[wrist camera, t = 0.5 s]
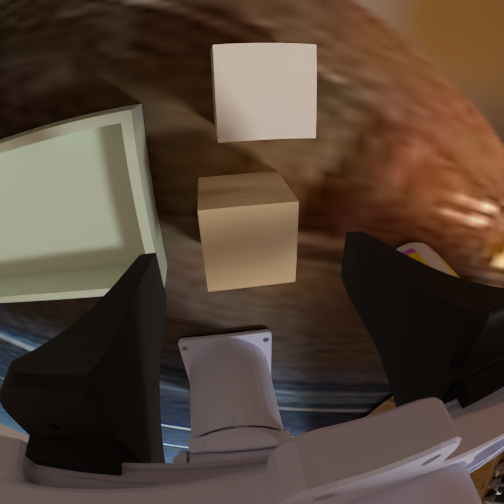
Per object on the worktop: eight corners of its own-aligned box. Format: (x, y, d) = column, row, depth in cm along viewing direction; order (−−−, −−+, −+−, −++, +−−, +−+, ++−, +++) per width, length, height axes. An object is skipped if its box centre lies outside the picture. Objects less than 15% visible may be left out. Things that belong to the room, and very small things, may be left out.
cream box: (289, 120, 18) (315, 137, 14) (214, 124, 18) (218, 142, 14) (288, 49, 16) (316, 44, 12) (210, 51, 15) (212, 44, 11)
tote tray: (167, 264, 22) (164, 290, 20) (-13, 282, 21) (-27, 304, 18) (141, 103, 16) (130, 109, 14) (-56, 162, 15) (-79, 177, 12)
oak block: (277, 238, 23) (295, 281, 19) (206, 246, 22) (208, 291, 18) (277, 170, 20) (298, 201, 16) (198, 177, 20) (197, 210, 15)
